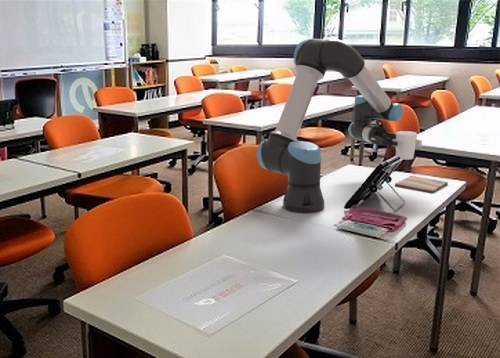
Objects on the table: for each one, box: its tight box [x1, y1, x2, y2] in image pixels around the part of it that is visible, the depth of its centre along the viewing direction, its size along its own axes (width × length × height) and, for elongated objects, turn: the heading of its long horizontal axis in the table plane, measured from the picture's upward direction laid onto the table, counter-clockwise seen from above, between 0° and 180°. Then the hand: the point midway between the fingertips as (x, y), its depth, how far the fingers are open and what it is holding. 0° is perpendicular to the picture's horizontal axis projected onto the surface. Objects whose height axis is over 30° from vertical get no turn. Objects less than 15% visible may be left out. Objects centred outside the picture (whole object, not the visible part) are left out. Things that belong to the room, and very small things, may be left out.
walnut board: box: [394, 175, 449, 194], centre depth 213 cm, size 16×16×1 cm
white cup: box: [395, 130, 418, 161], centre depth 201 cm, size 8×8×10 cm
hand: (412, 144), depth 197 cm, fingers closed on white cup, 8 cm apart
